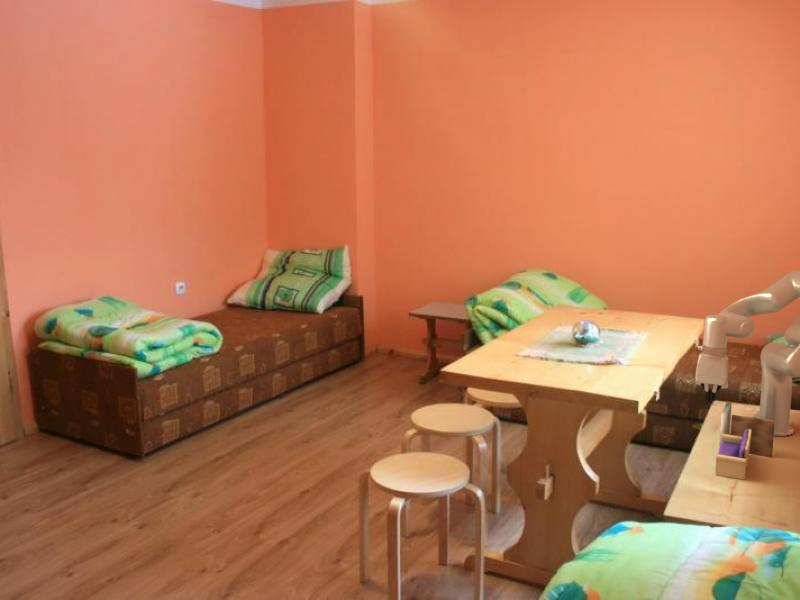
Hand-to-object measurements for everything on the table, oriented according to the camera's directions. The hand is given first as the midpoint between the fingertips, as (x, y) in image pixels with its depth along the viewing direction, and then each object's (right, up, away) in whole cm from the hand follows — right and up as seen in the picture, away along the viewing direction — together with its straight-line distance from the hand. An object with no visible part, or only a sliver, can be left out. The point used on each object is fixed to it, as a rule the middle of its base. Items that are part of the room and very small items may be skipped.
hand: (709, 402), depth 248 cm
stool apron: (+7, -15, -14) cm, 22 cm away
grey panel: (+4, -12, -2) cm, 13 cm away
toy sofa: (-3, -17, -23) cm, 29 cm away
